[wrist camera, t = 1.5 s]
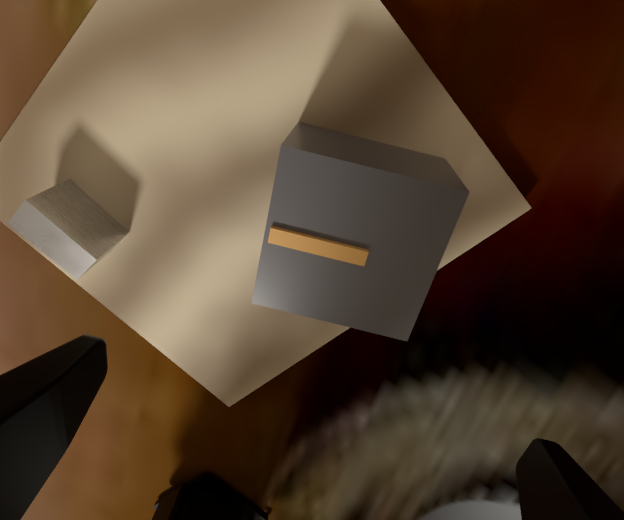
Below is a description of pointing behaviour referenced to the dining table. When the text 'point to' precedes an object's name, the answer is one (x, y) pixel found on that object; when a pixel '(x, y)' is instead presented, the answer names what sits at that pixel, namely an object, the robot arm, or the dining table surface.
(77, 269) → the silver metal block
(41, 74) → the dining table surface
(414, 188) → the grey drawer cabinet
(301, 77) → the panel
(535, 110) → the dining table surface
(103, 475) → the dining table surface
